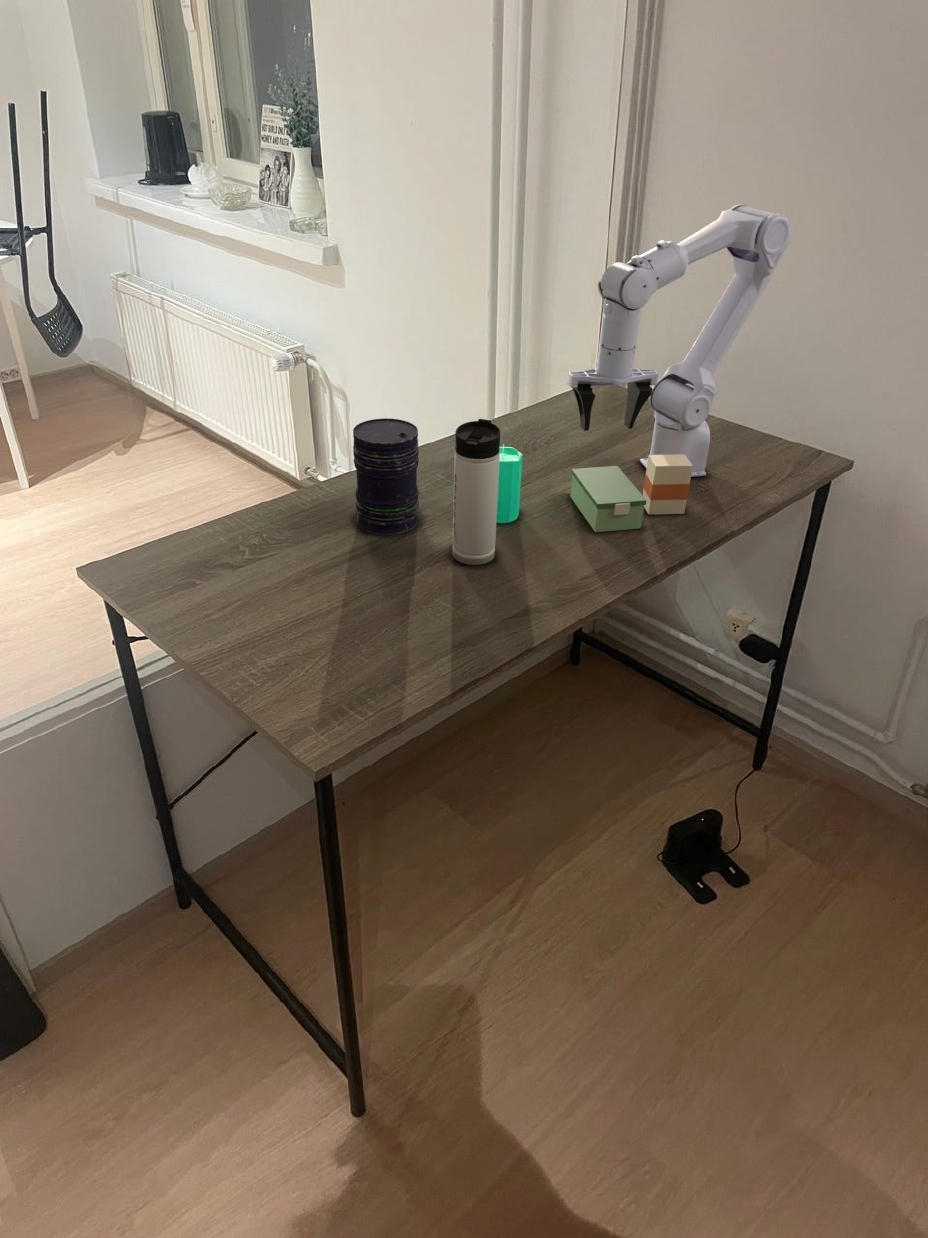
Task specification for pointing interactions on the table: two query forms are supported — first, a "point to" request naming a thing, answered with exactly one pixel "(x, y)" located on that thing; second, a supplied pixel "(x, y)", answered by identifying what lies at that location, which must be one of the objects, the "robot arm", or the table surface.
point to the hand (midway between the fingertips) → (606, 427)
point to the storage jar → (386, 475)
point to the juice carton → (667, 484)
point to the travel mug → (475, 491)
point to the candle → (509, 484)
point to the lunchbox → (607, 498)
